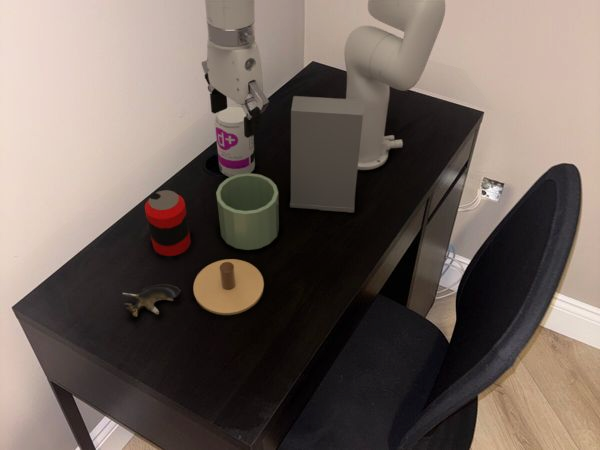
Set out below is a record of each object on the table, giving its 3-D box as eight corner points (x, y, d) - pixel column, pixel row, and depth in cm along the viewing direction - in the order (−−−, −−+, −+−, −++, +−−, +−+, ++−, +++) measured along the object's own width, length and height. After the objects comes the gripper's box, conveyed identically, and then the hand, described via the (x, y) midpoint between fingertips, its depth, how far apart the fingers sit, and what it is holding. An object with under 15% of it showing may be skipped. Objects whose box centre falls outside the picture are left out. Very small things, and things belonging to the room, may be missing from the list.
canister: (273, 208, 131) (272, 170, 124) (283, 247, 123) (282, 209, 115) (218, 215, 129) (213, 177, 122) (224, 255, 121) (219, 216, 113)
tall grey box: (354, 194, 134) (364, 97, 117) (353, 213, 130) (363, 115, 113) (292, 190, 135) (293, 93, 118) (289, 209, 131) (290, 111, 113)
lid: (258, 259, 120) (257, 237, 116) (269, 311, 111) (268, 289, 106) (191, 268, 118) (187, 246, 114) (196, 322, 109) (192, 300, 104)
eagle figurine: (148, 333, 105) (188, 301, 109) (124, 303, 103) (166, 270, 106) (136, 323, 112) (175, 293, 115) (114, 294, 109) (154, 264, 113)
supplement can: (239, 184, 137) (234, 129, 126) (212, 170, 140) (206, 115, 130) (262, 166, 141) (259, 112, 131) (235, 153, 145) (231, 99, 134)
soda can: (168, 226, 126) (159, 182, 118) (198, 238, 124) (191, 194, 116) (145, 249, 122) (135, 205, 113) (176, 262, 119) (168, 218, 111)
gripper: (284, 44, 93) (283, 136, 105) (218, 6, 102) (223, 95, 114) (245, 58, 89) (248, 152, 101) (180, 18, 98) (190, 108, 110)
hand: (235, 122), depth 107 cm, fingers open, 9 cm apart
